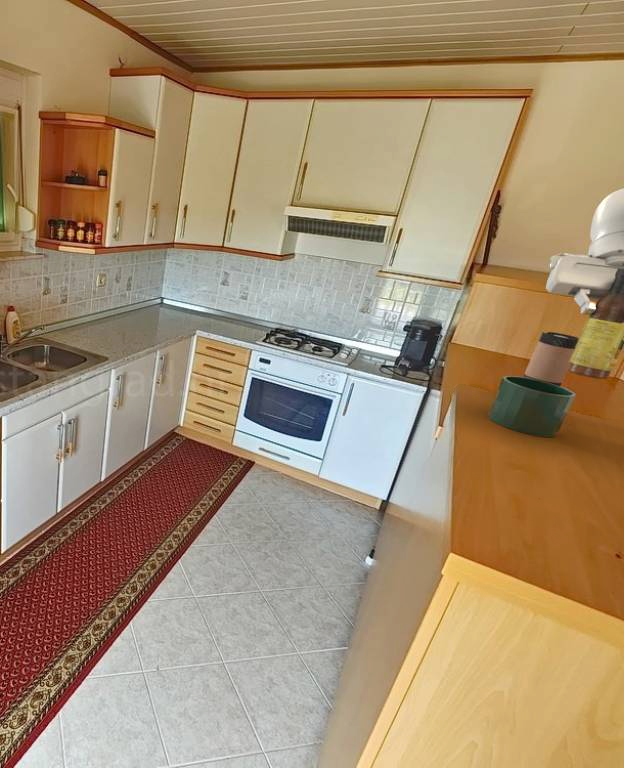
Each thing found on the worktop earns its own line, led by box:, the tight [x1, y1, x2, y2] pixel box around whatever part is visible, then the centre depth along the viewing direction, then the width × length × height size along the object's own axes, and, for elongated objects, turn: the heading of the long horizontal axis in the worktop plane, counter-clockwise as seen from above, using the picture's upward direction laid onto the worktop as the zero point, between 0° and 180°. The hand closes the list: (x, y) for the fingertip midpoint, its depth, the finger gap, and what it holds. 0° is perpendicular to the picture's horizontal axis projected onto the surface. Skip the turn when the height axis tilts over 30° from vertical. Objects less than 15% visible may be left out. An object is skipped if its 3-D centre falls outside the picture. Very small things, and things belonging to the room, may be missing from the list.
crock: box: [487, 375, 577, 438], centre depth 114 cm, size 13×13×10 cm
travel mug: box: [522, 331, 580, 387], centre depth 125 cm, size 8×8×20 cm
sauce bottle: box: [567, 268, 624, 380], centre depth 89 cm, size 6×6×20 cm
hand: (615, 316), depth 88 cm, fingers closed on sauce bottle, 6 cm apart
